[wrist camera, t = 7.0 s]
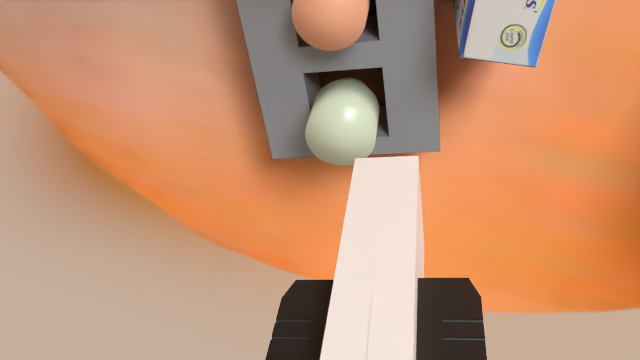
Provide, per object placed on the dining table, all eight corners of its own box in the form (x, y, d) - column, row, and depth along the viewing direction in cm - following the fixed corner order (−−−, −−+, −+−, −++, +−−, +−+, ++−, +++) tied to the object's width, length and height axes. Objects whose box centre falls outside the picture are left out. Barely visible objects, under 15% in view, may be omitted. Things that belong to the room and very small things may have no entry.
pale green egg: (313, 68, 41) (299, 107, 37) (378, 63, 40) (371, 103, 36) (322, 124, 44) (311, 167, 39) (384, 121, 43) (378, 164, 38)
